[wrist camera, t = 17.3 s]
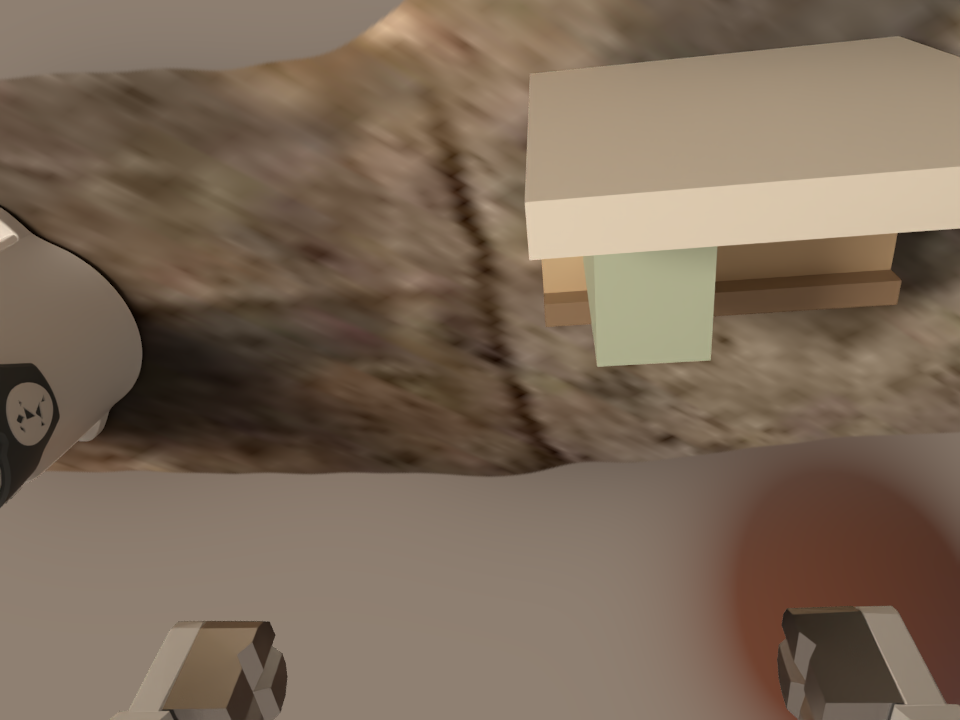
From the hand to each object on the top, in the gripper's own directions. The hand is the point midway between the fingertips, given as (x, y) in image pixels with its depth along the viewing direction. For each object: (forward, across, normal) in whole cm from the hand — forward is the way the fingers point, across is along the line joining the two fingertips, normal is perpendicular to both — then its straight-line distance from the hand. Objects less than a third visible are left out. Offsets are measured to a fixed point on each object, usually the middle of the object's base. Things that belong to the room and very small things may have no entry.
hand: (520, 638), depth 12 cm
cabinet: (+33, -5, +5) cm, 34 cm away
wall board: (+37, -10, +5) cm, 39 cm away
